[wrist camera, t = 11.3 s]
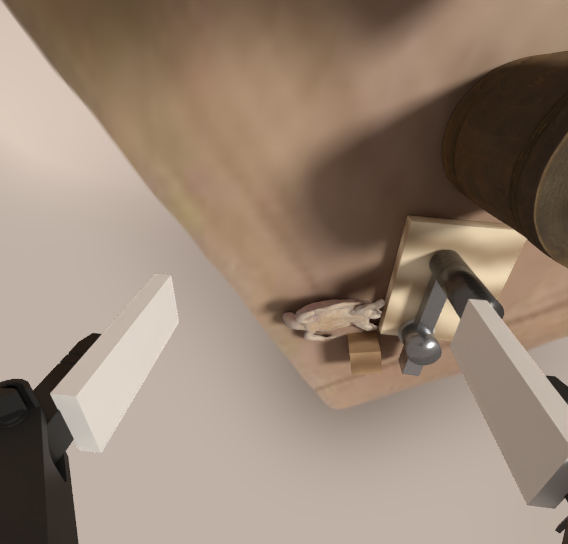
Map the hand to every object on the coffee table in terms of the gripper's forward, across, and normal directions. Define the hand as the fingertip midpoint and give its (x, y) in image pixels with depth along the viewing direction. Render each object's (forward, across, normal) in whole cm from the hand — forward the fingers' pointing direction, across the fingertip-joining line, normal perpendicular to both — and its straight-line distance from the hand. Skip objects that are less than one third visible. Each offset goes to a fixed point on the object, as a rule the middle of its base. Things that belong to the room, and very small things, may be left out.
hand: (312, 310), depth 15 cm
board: (+28, +19, -14) cm, 37 cm away
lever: (+26, +17, -18) cm, 36 cm away
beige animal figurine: (+29, +5, -21) cm, 36 cm away
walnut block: (+28, +10, -27) cm, 40 cm away
